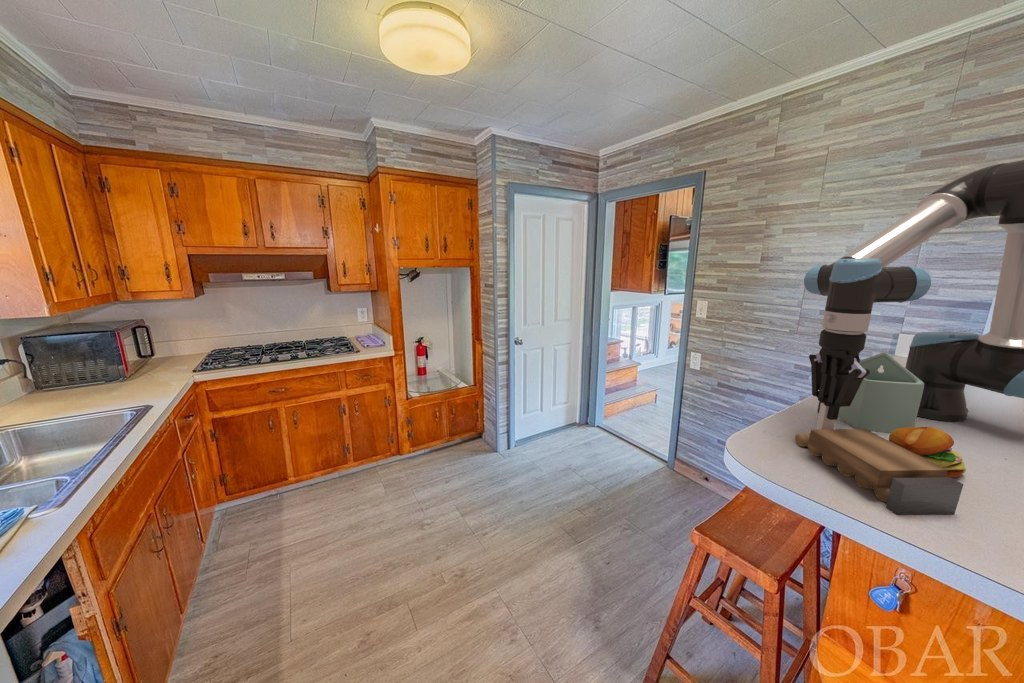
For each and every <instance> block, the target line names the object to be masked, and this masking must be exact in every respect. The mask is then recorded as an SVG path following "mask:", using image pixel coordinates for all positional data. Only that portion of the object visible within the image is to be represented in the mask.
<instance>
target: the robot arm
mask: <svg viewBox="0 0 1024 683" xmlns="http://www.w3.org/2000/svg"><path fill="white" fill-rule="evenodd" d="M984 217H999V218H998V224H997V225H998V226H999V227H1001V228H1003V229H1004V230H1005V231H1006V232H1007V235H1006V239H1005V245H1004V250H1003V257H1002V261H1001V268H1000V273H999V278H998V284H997V288H996V289H997V290H996V293H995V295H996V296H995V299H994V306H993V310H992V311H993V312H992V316H991V322H990V327H989V331H988V332H987V333H984V334H982V335H979V334H978V333H973V332H961V331H960V332H958V331H921V332H919V333H916V334H914V335H913V338H912V340H911V343H910V345H909V351H908V354H907V358H906V364H905V366H904V367H905V368H906V369H907V370H908V371H910V372H911V373H912V374H913V375H915V376H916V377H917V378H918V379H920V380H921V381H922V382H923V383H924V389H923V394H922V398H921V402H920V406H919V409H918V413H917V417H919V418H920V417H921V418H924V419H929V420H935V421H943V422H963V421H966V420H967V418H968V415H969V409H968V407H967V401H966V395H965V387H966V386H967V385H968V386H971V387H973V388H975V387H976V388H978V389H984V390H986V391H991V392H995V393H999V394H1001V395H1004V396H1007V397H1015V398H1020V399H1024V159H1022V160H1016V161H1011V162H1006V163H998V164H994V165H990V166H985V167H983V168H979V169H977V170H975V171H972V172H970V173H968V174H965V175H963V176H960V177H959V178H957V179H954V180H952V181H951V182H948V183H947V184H945V185H943V186H942V187H940V188H938V189H937V190H934V191H933V192H931V193H930V194H928V195H927V196H925V197H924V198H922V199H921V201H919V203H918V204H917V206H916V208H915V209H913V210H912V211H910V212H909V213H907V214H906V215H904V216H902V217H901V218H899V219H898V220H897V221H895V222H894V223H892V224H890V225H889V226H887V227H886V228H885V229H883V230H882V231H879V232H878V233H876V234H875V235H874V236H873V237H871V238H869V239H867V240H866V241H865V242H863V243H862V244H860V245H859V246H857V247H855V248H854V249H852V250H851V251H849V252H848V253H847V254H845V255H844V256H842V257H841V258H839V259H837V260H836V261H834V262H833V263H831V264H821V265H815V266H813V267H810V268H809V269H808V271H807V272H806V273H805V276H804V278H803V285H804V288H805V290H806V291H807V292H808V293H809V294H814V295H819V296H823V297H826V304H825V307H824V314H823V319H822V323H821V327H822V328H823V329H822V330H821V331H820V334H819V340H818V346H819V347H821V348H820V350H819V352H817V353H816V354H809V356H808V358H809V359H808V360H809V363H810V366H811V368H810V369H811V370H810V371H811V395H812V396H813V397H816V398H817V400H818V406H817V414H818V417H817V422H816V426H815V429H834V427H835V422H836V420H838V418H839V417H838V414H839V409H840V407H846V406H850V405H851V403H852V401H853V399H854V397H855V395H856V393H857V391H858V389H859V387H860V385H861V383H862V381H863V379H864V378H865V377H866V376H867V375H868V374H869V373H870V371H869V369H863V368H862V366H861V365H860V364H859V362H860V360H861V358H860V353H861V352H862V351H864V350H865V347H866V346H865V344H866V340H867V334H866V333H865V332H868V330H869V326H870V322H871V321H870V320H871V316H872V313H873V312H872V311H873V306H874V304H876V303H900V304H901V303H905V302H912V301H916V300H919V299H920V298H923V296H925V295H926V294H928V292H929V291H930V288H931V285H932V279H931V276H930V274H929V273H928V272H927V271H926V270H925V269H923V268H921V267H917V266H915V267H914V266H909V265H908V266H904V265H902V266H889V265H890V264H892V263H893V262H895V261H897V260H898V259H900V258H902V257H903V256H904V255H906V254H908V253H909V252H910V251H912V250H914V249H915V248H917V247H918V246H920V245H921V244H922V243H924V242H925V241H927V240H929V239H930V238H932V237H933V236H935V235H936V234H938V233H939V232H941V231H942V230H944V229H952V228H955V227H956V226H959V225H961V223H963V222H965V221H968V220H973V219H980V218H984Z"/></svg>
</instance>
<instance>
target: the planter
mask: <svg viewBox="0 0 1024 683" xmlns="http://www.w3.org/2000/svg"><path fill="white" fill-rule="evenodd" d="M859 364H860V365H861V366H862V368H863V369H869V371H870V373H869V374H868V375H867V376H866V377H865V378H864V379H863V381H862V383H861V385H860V387H859V389H858V391H857V393H856V395H855V397H854V399H853V401H852V403H851V405H850V406H846V407H840V409H839V414H838V418H839V419H840V420H842V421H843V422H845V423H847V424H848V425H850V426H851V427H852V428H853V429H866V430H868V431H870V432H873V433H874V432H875V433H885V434H891V433H892V431H893V430H896V429H898V428H906V427H915V425H916V420H917V418H918V416H917V413H918V409H919V406H920V402H921V398H922V394H923V389H924V383H923V382H922V381H921V380H920V379H918V378H917V377H916V376H915V375H913V374H912V373H911V372H910V371H908V370H907V369H906V368H905V367H906V366H903V365H902V364H901V363H899V362H898V360H896V359H894V358H893V356H891V355H890V354H889V353H887V352H886V351H883V352H880V353H877V354H874V355H871V356H869V357H866V358H863V359H860V362H859ZM881 366H882V369H883V371H882V372H881V371H879V369H880V368H881Z"/></svg>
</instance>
